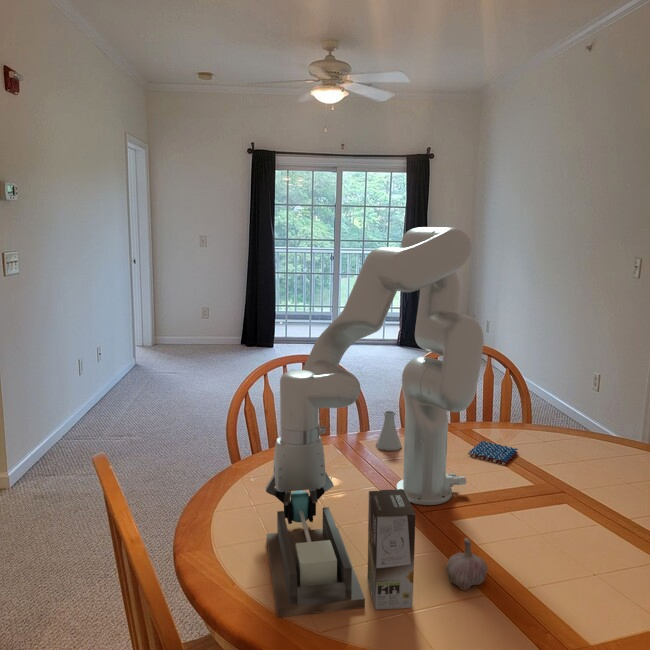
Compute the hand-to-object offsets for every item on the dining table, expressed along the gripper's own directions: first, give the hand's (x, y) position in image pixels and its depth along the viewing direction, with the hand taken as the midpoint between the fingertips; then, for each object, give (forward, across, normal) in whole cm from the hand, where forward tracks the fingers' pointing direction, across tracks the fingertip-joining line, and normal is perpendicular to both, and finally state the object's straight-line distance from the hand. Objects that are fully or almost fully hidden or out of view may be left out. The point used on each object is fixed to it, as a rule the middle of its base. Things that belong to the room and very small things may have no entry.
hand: (299, 518), depth 114 cm
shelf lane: (+2, 0, +15) cm, 15 cm away
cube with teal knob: (0, 0, +11) cm, 11 cm away
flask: (+2, -30, -38) cm, 48 cm away
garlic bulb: (+2, -26, +22) cm, 34 cm away
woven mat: (+3, -56, -28) cm, 63 cm away
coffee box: (+2, -12, +23) cm, 26 cm away
